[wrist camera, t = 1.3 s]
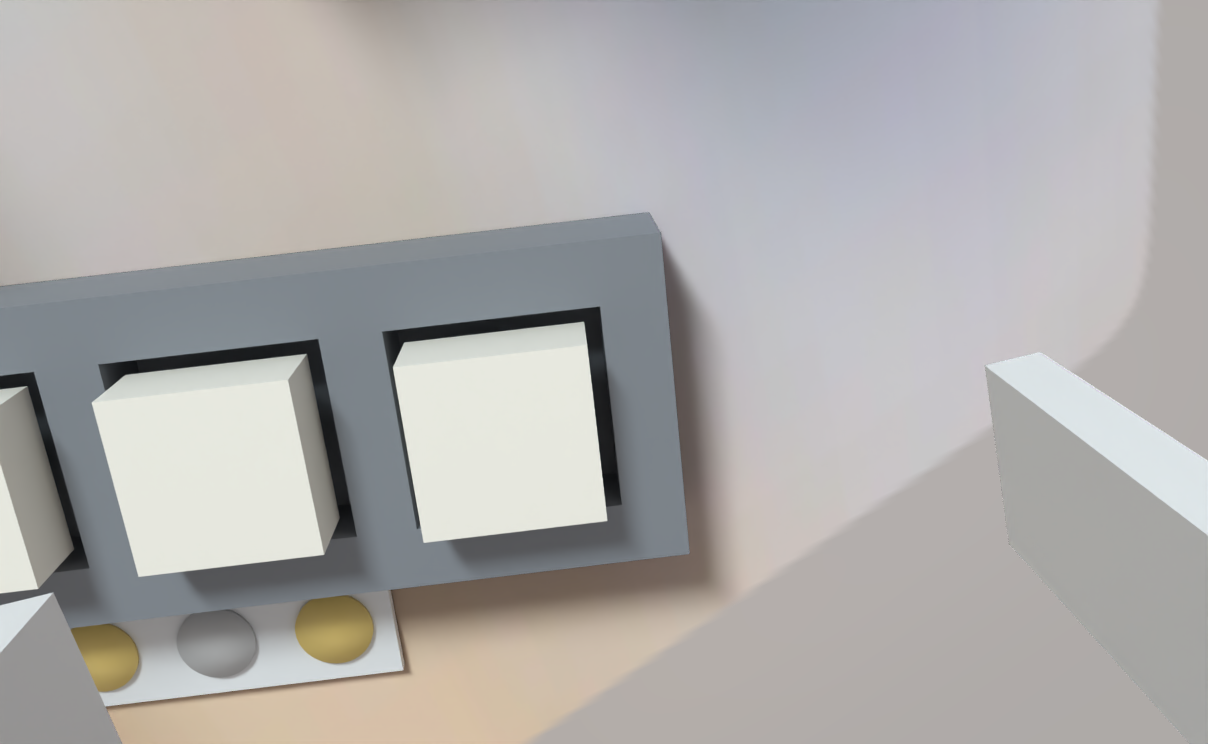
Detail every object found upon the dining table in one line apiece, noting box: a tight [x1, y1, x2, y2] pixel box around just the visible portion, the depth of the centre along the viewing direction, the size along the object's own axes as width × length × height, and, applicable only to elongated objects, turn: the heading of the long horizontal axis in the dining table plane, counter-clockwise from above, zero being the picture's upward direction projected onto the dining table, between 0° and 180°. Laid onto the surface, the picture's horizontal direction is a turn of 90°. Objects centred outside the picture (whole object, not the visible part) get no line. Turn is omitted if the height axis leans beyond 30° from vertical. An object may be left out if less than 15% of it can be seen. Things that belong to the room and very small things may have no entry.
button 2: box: [92, 354, 340, 577], centre depth 30 cm, size 5×5×2 cm
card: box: [70, 590, 405, 706], centre depth 36 cm, size 12×4×1 cm, turn 96°
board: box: [0, 212, 690, 628], centre depth 33 cm, size 26×10×4 cm, turn 96°
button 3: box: [393, 322, 607, 543], centre depth 30 cm, size 5×5×2 cm
